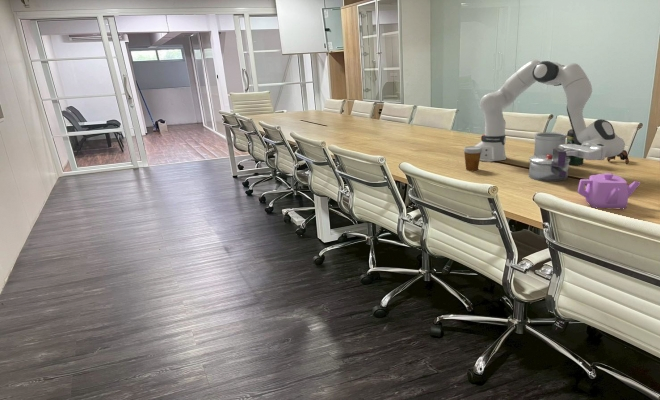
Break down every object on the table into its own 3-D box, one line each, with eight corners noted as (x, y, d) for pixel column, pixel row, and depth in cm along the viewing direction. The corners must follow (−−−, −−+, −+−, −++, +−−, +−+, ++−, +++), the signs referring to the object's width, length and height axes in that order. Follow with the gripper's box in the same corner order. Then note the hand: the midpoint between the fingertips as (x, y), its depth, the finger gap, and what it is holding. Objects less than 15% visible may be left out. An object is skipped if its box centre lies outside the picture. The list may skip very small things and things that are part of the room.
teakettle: (595, 195, 180) (599, 166, 177) (639, 204, 166) (644, 174, 162) (570, 203, 173) (574, 173, 169) (614, 214, 158) (619, 182, 155)
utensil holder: (565, 170, 219) (568, 136, 214) (533, 170, 225) (536, 136, 219) (561, 164, 233) (564, 132, 227) (531, 163, 238) (533, 132, 232)
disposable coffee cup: (481, 167, 236) (482, 146, 233) (481, 171, 228) (482, 149, 224) (463, 167, 240) (463, 146, 236) (462, 171, 231) (463, 149, 227)
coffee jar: (585, 165, 227) (589, 130, 222) (570, 166, 227) (574, 131, 222) (576, 161, 236) (580, 127, 231) (561, 162, 237) (565, 128, 231)
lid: (525, 157, 218) (526, 142, 215) (562, 156, 215) (564, 141, 212) (540, 168, 194) (541, 152, 192) (582, 168, 191) (584, 151, 189)
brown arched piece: (626, 166, 221) (618, 152, 221) (608, 171, 230) (601, 158, 229) (636, 156, 227) (628, 143, 227) (618, 162, 235) (610, 149, 235)
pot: (522, 171, 224) (523, 156, 221) (557, 170, 221) (558, 155, 218) (541, 187, 195) (542, 170, 192) (581, 186, 192) (583, 169, 189)
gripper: (574, 139, 206) (549, 142, 203) (609, 146, 186) (581, 150, 184) (573, 152, 208) (547, 155, 205) (607, 160, 188) (579, 164, 186)
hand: (564, 153), depth 194 cm, fingers closed
